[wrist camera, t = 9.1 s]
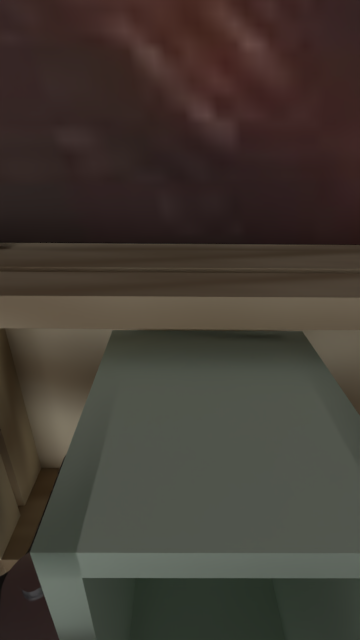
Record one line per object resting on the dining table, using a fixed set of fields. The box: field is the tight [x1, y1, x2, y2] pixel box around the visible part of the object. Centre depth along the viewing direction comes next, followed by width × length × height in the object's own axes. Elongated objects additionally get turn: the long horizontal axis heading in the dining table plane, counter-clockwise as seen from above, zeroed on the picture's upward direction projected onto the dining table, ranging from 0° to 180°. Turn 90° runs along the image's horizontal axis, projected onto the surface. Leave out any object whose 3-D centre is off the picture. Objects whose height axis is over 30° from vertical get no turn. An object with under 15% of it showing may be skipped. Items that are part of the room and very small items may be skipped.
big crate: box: [0, 243, 360, 576], centre depth 12 cm, size 12×16×5 cm
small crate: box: [30, 330, 360, 640], centre depth 9 cm, size 8×6×6 cm
